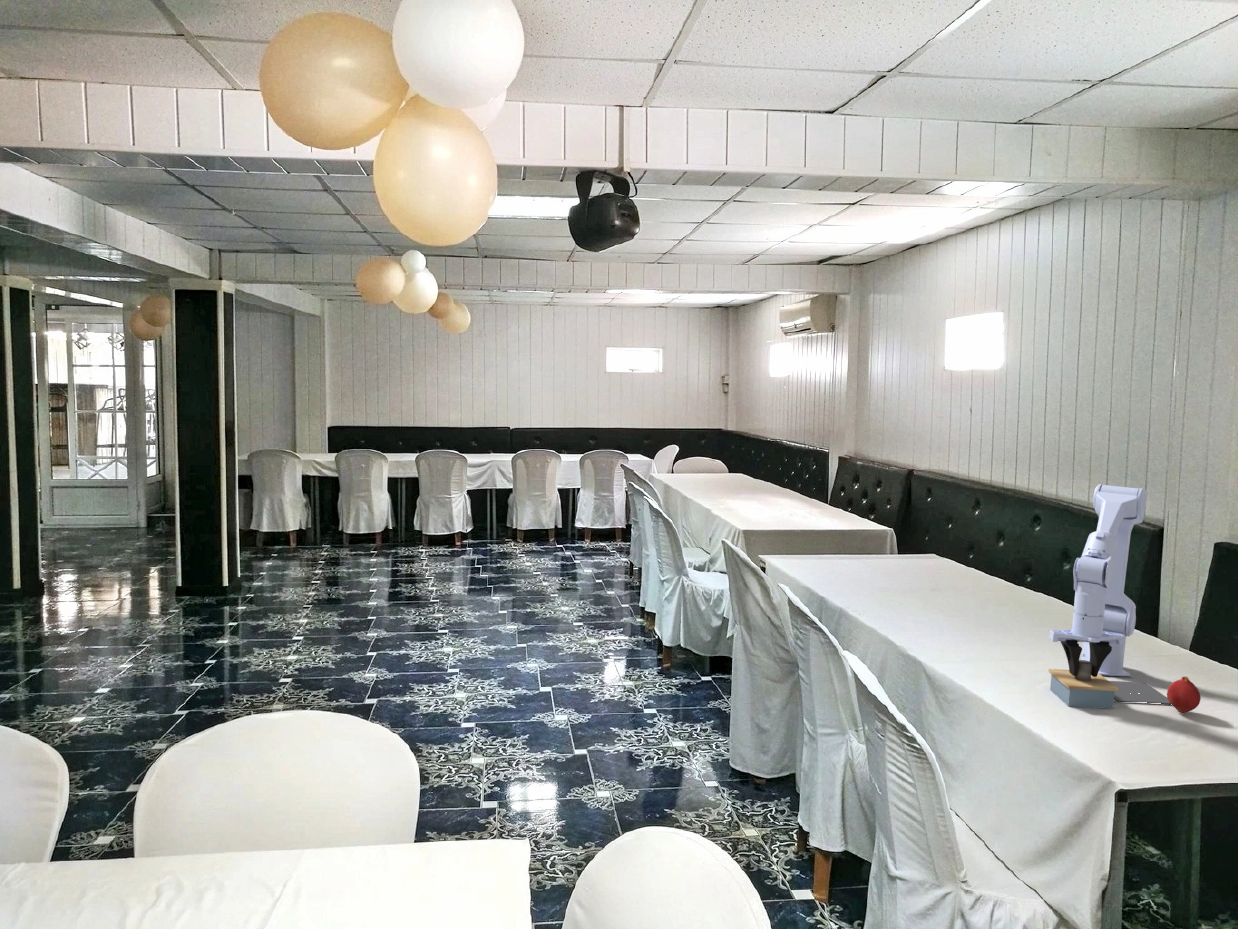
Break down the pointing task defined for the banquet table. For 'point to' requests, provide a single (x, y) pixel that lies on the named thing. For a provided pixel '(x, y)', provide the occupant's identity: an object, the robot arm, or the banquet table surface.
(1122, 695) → the mat
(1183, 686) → the pomegranate
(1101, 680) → the lid
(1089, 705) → the blue-grey square box
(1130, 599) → the robot arm
